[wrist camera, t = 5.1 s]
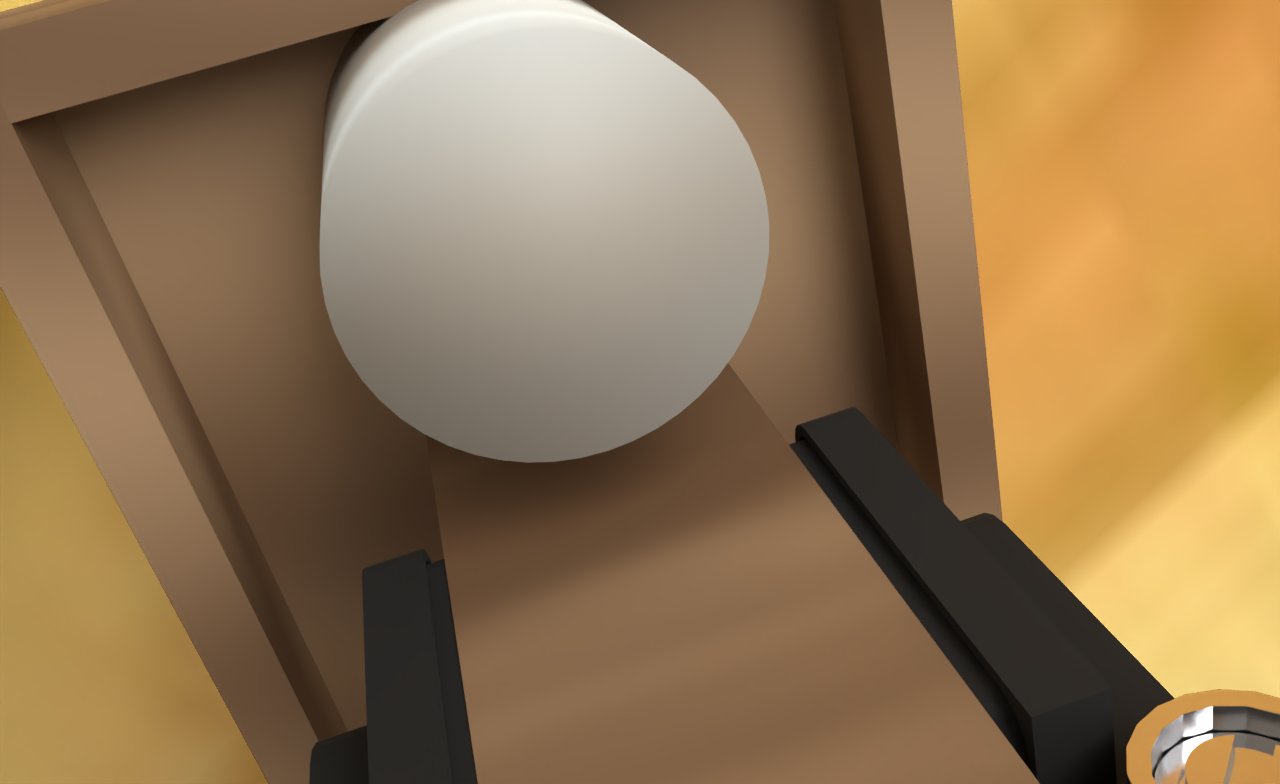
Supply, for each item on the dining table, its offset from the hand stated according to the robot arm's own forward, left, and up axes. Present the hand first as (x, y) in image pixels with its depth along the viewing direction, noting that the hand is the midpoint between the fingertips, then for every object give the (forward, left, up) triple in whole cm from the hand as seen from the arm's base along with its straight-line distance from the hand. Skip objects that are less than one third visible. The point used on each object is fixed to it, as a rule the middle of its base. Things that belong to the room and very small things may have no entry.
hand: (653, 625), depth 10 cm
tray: (0, 0, -4) cm, 5 cm away
